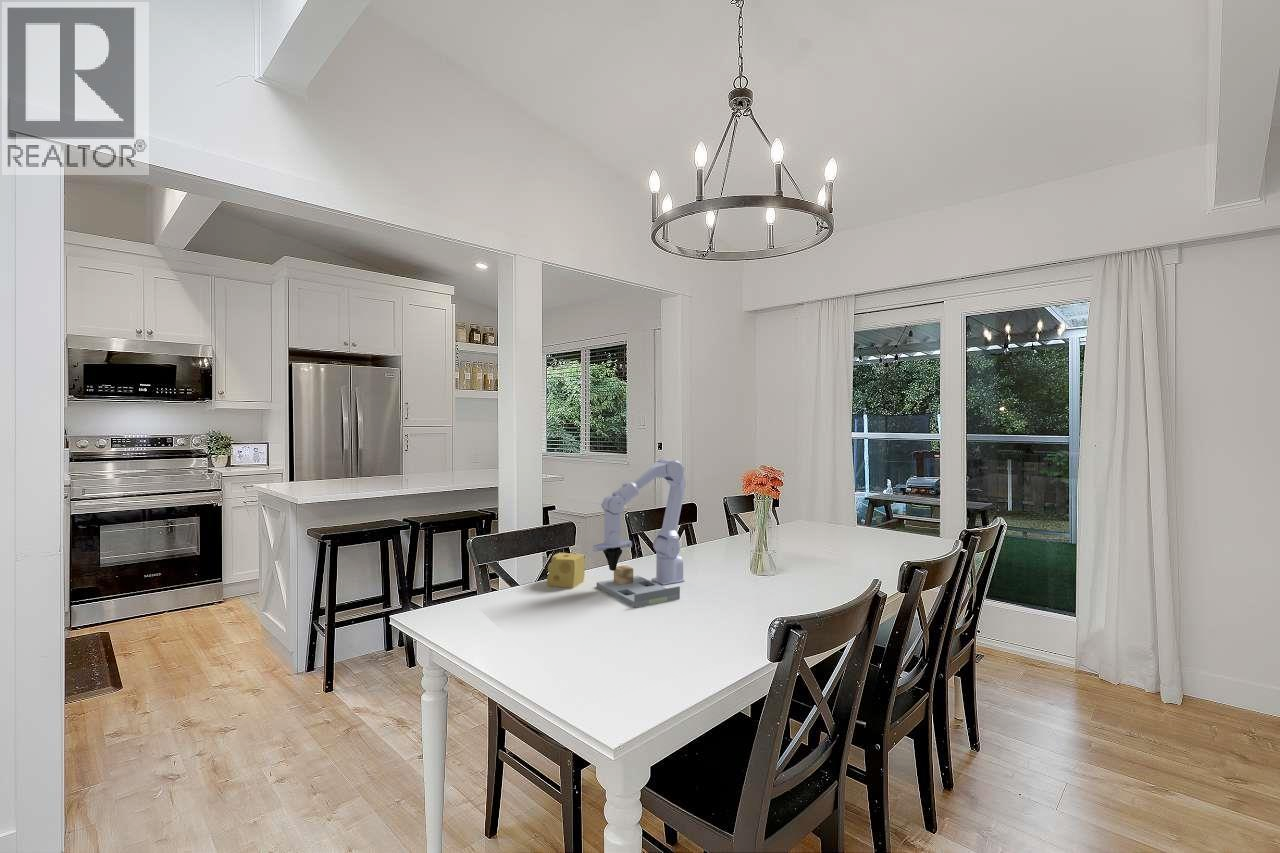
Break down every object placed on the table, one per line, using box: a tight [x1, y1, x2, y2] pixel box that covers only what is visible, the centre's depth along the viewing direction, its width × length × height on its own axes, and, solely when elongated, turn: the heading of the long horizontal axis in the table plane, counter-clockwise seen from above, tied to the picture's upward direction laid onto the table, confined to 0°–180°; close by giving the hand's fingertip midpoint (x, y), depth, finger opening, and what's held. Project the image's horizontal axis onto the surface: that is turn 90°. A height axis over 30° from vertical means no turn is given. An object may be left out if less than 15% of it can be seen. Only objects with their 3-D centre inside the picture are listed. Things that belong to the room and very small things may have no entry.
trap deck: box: [596, 575, 681, 608], centre depth 199 cm, size 17×26×4 cm, turn 32°
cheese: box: [546, 552, 586, 589], centre depth 210 cm, size 10×11×10 cm
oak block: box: [613, 565, 634, 585], centre depth 206 cm, size 5×5×5 cm
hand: (612, 569), depth 203 cm, fingers closed
